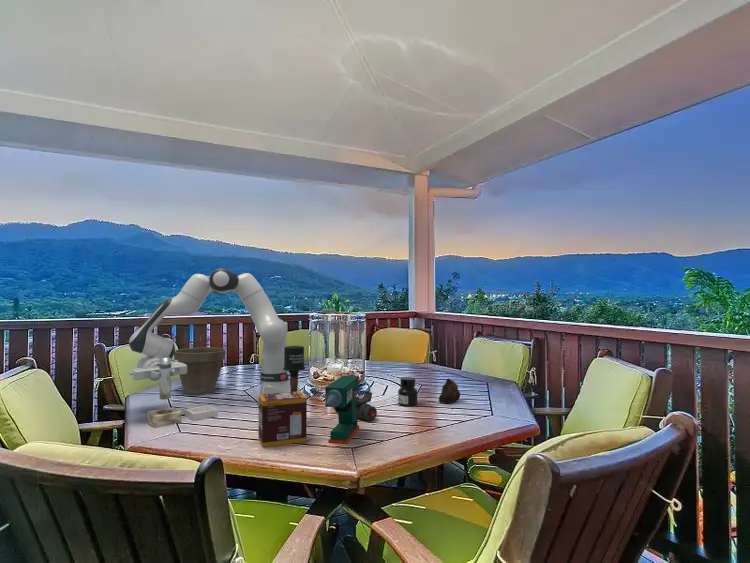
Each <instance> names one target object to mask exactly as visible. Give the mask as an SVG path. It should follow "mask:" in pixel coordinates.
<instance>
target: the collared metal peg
mask: <svg viewBox="0 0 750 563" xmlns="http://www.w3.org/2000/svg"><path fill="white" fill-rule="evenodd" d="M171 360H172V359H171V358H170V357H163V358H160V364H159V368H160V374H161V375H160V376H161V377H160V380H159V400H169V399H171V397H172V394H171V392H172V390H171V389H172V385H171V382H172V381H171V378H172V376H171Z"/></svg>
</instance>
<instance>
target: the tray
mask: <svg viewBox="0 0 750 563" xmlns="http://www.w3.org/2000/svg"><path fill="white" fill-rule="evenodd" d="M184 416H186V417H187V418H188V419H190V420H191V421H199V420H203V419H208V418H209V419H210V418H215V417H218V416H219V410H218V408H216V407H214V406H212V405H209V404H206V405H202V406H195V407H189V408H185V409H184Z"/></svg>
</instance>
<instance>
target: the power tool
mask: <svg viewBox="0 0 750 563" xmlns="http://www.w3.org/2000/svg"><path fill="white" fill-rule="evenodd" d="M324 388H325V389H324V390H325V391H324V392H325V396H324V402H325V404H324V406H325V407H326V408H327V407H328V408H333V407H336V410H335V412H337V415H338V416H337V417H338V422H337V424H336V426H334V427H333V428H332V430H331V431H330V438H329V439H328V441H327V443H328V444H333V445H334V444H335V445H346V444H347V445H348V444H349V442H350V441H351V440H352V438H353V437H354V435H356V433H357V432H358V431H359V429H360V425H359V424H358V421H359V419H358V418H357V417H356V400H355V396H356V397H357V396H358V395H359V394H360V375H348V374H347V375H345V374H343V375H341V376H340V377H337V379H336V380H334V381H333V382H331V383H330V384H328V385H326V386H325V387H324Z"/></svg>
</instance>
